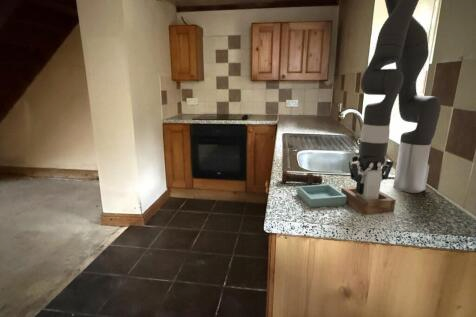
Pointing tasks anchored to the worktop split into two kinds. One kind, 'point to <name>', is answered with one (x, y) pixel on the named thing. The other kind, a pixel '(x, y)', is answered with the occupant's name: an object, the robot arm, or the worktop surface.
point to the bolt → (301, 178)
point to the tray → (321, 196)
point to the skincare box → (371, 185)
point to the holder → (368, 202)
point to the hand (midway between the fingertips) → (367, 192)
